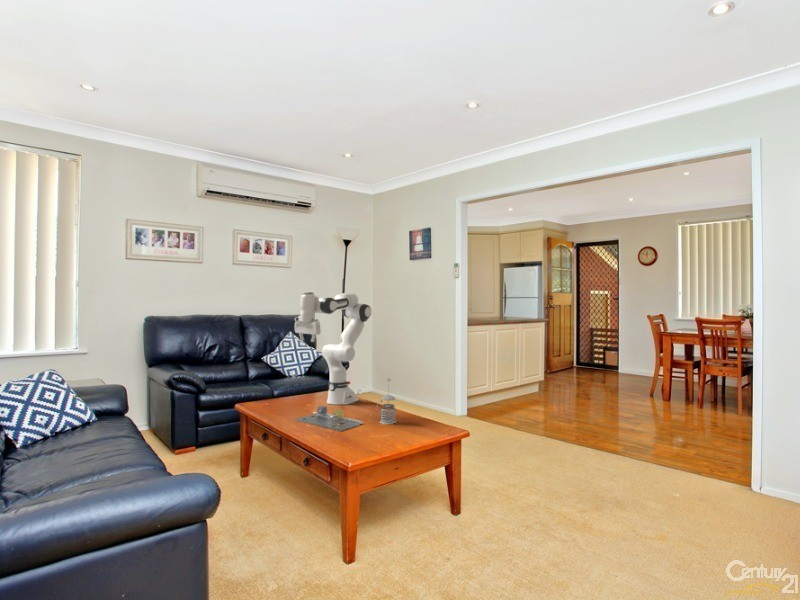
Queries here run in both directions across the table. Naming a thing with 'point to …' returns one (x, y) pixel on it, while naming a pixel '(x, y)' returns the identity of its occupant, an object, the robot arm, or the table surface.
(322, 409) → the trammel beam
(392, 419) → the french press
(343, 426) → the flange plate
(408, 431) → the table surface
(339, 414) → the sliding head
